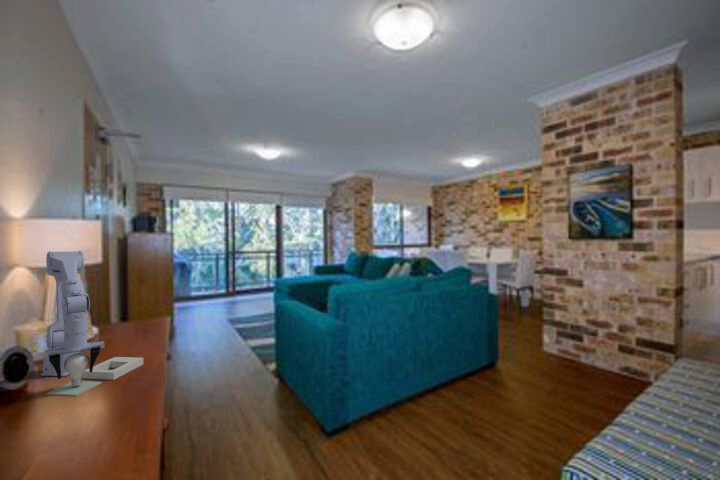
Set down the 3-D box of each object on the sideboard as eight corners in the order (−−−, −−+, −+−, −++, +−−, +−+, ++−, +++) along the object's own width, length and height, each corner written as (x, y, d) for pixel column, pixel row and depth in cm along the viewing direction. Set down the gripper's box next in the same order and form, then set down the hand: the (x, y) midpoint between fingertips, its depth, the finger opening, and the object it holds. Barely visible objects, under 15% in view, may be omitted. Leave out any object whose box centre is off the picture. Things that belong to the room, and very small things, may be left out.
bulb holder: (82, 378, 112) (82, 371, 112) (115, 363, 126) (115, 356, 126) (113, 379, 112) (113, 372, 112) (143, 364, 126) (143, 357, 126)
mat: (46, 394, 101) (46, 393, 101) (74, 381, 110) (74, 380, 110) (76, 395, 100) (76, 394, 100) (101, 383, 109) (101, 381, 109)
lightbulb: (71, 392, 102) (72, 357, 102) (58, 389, 104) (59, 354, 104) (93, 383, 108) (94, 350, 108) (80, 381, 110) (81, 348, 110)
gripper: (43, 340, 97) (43, 385, 97) (104, 331, 107) (104, 372, 107) (45, 334, 102) (45, 377, 102) (103, 326, 112) (103, 366, 112)
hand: (75, 374), depth 105 cm, fingers open, 7 cm apart
